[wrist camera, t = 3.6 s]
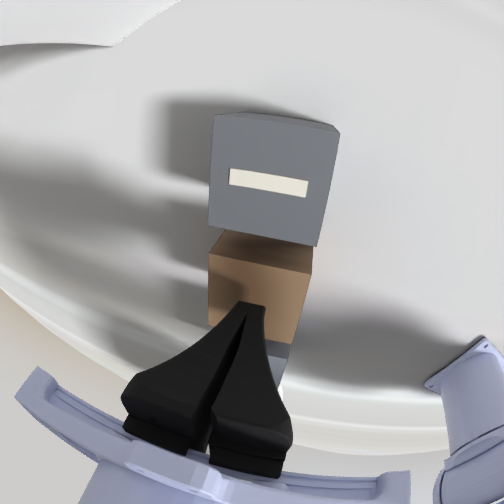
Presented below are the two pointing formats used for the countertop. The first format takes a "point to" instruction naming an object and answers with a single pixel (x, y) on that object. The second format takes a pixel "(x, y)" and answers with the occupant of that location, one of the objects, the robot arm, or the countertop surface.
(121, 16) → the milk
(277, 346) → the slate block
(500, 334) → the countertop surface
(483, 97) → the countertop surface
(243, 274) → the walnut block
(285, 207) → the charcoal block
